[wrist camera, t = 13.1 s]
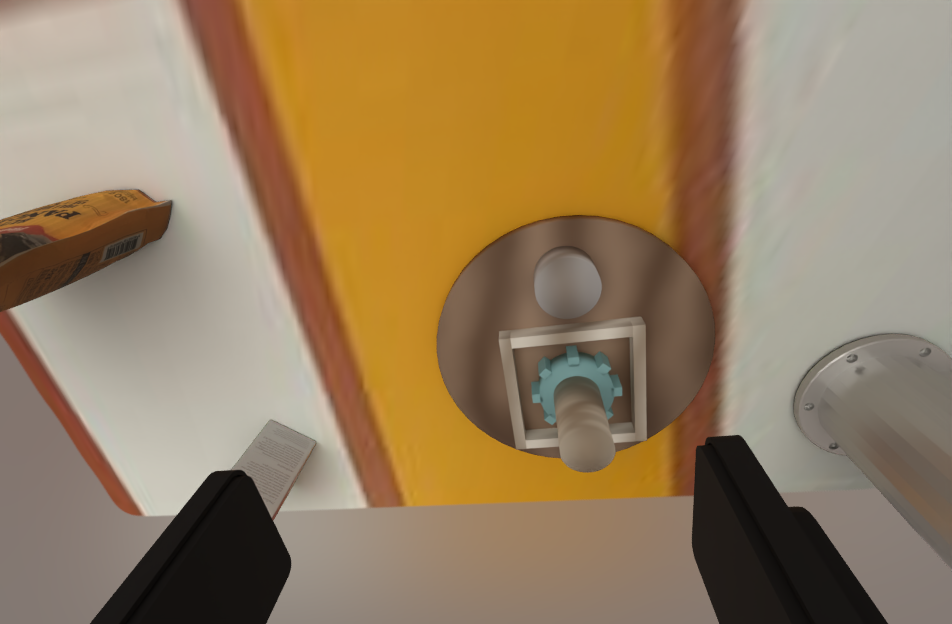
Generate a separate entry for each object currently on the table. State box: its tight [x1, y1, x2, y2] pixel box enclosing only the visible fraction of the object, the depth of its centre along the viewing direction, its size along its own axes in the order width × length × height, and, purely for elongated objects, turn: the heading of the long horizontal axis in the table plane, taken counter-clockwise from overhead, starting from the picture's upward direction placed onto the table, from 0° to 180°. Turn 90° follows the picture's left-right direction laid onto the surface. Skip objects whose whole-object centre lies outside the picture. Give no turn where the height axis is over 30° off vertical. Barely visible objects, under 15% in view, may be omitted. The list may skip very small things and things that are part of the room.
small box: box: [231, 420, 316, 520], centre depth 46 cm, size 8×6×10 cm
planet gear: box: [531, 345, 622, 472], centre depth 38 cm, size 8×8×9 cm
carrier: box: [437, 215, 715, 458], centre depth 40 cm, size 24×24×4 cm
